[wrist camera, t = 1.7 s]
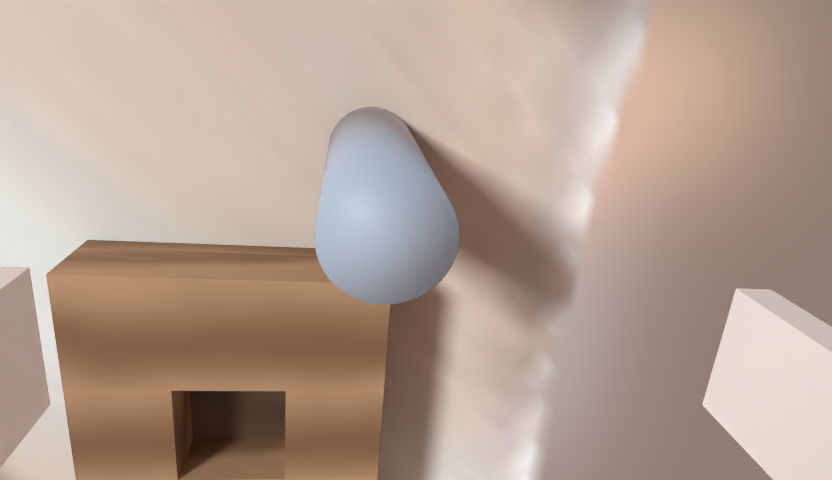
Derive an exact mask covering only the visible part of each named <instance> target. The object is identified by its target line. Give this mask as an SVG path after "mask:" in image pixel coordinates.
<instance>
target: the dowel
mask: <svg viewBox="0 0 832 480" xmlns="http://www.w3.org/2000/svg"><path fill="white" fill-rule="evenodd" d="M459 235H460V233H459V224H458V219H457V215H456V213H455V210H454V208H453V206H452V204H451V202H450V200H449V199H448V197H447V195H446V193H445V192H444V190H443V188H442V186H441V185H440V183H439V181H438V179H437V178H436V176H435V174H434V172H433V171H432V169H431V167H430V165H429V164H428V162H427V160H426V158H425V157H424V155H423V153H422V151H421V150H420V148H419V146H418V144H417V143H416V141H415V139H414V137H413V136H412V134H411V132H410V130H409V129H408V127H407V126H406V124H405V123H404V122H403V121H402V120H401V119H400V118H399V117H398V116H397V115H395V114H393V113H392V112H390V111H387V110H385V109H381V108H375V107H367V108H361V109H357V110H355V111H353V112H351V113H349V114H347V115H346V116H345V117H343V118H342V119H341V120H340V121H339V122H338V124H337V125H336V126H335V128H334V130H333V132H332V134H331V137H330V141H329V147H328V153H327V159H326V165H325V171H324V177H323V183H322V189H321V195H320V201H319V207H318V213H317V219H316V226H315V235H314V240H315V249H316V254H317V257H318V260H319V263H320V265H321V267H322V269H323V271H324V272H325V274H326V275H327V277H328V278H329V279H330V280H331V281H332V282H333V284H334V285H335V286H337V287H338V288H339V289H340V290H341V291H343V292H345V293H346V294H348V295H349V296H351V297H353V298H356V299H358V300H361V301H364V302H368V303H373V304H382V305H386V304H398V303H403V302H407V301H410V300H413V299H415V298H418V297H420V296H422V295H423V294H425V293H427V292H428V291H430V290H431V289H432V288H434V287H435V286H436V285H437V284H438V283H439V282H440V281H441V280H442V279H443V278H444V277H445V275H446V274H447V273H448V271H449V269H450V268H451V266H452V264H453V262H454V260H455V257H456V254H457V251H458V246H459Z"/></svg>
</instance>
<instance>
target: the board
mask: <svg viewBox="0 0 832 480" xmlns="http://www.w3.org/2000/svg"><path fill="white" fill-rule="evenodd" d="M46 276H47V283H48V290H49V297H50V304H51V311H52V317H53V324H54V331H55V338H56V345H57V352H58V359H59V366H60V373H61V379H62V386H63V393H64V400H65V407H66V414H67V421H68V428H69V435H70V441H71V448H72V455H73V462H74V469H75V476H76V480H377V478H378V465H379V451H380V438H381V424H382V411H383V397H384V384H385V370H386V357H387V344H388V330H389V317H390V304H386V305H382V304H373V303H368V302H364V301H361V300H358V299H356V298H353V297H351V296H349V295H348V294H346V293H345V292H343V291H341V290H340V289H339V288H338V287H337V286H335V285H334V284H333V282H332V281H331V280H330V279H329V278H328V277H327V275H326V274H325V272H324V271H323V269H322V267H321V265H320V263H319V260H318V257H317V254H316V249H315V248H290V247H263V246H236V245H209V244H182V243H154V242H127V241H100V240H87V241H86V242H85V243H83V244H82V245H81V246H80V247H79V248H77V249H76V250H75V251H74V252H73V253H71V254H70V255H69V256H68V257H67V258H65V259H64V260H63V261H62V262H60V263H59V264H58V265H57V266H56V267H54V268H53V269H52V270H51V271H50V272H48V273H47V274H46Z"/></svg>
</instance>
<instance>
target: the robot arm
mask: <svg viewBox="0 0 832 480" xmlns="http://www.w3.org/2000/svg"><path fill="white" fill-rule="evenodd" d="M49 405H50V400H49V393H48V387H47V380H46V374H45V367H44V361H43V354H42V348H41V341H40V335H39V328H38V322H37V315H36V309H35V302H34V296H33V289H32V282H31V276H30V269H29V268H24V267H0V467H1V466H2V465H3V464H4V462H5V461H6V460H7V458H8V457H9V456H10V455H11V453H12V452H13V451H14V450H15V448H16V447H17V446H18V445H19V443H20V442H21V441H22V439H23V438H24V437H25V436H26V434H27V433H28V432H29V431H30V429H31V428H32V427H33V426H34V424H35V423H36V422H37V420H38V419H39V418H40V417H41V415H42V414H43V413H44V412H45V410H46V409H47V408H48V407H49ZM703 406H704V407H705V408H706V409H707V410H708V411H709V412H710V413H711V415H712V416H713V417H714V418H715V419H716V420H717V421H718V422H719V423H720V424H721V425H722V426H723V427H724V428H725V429H726V430H727V431H728V433H729V434H730V435H731V436H732V437H733V438H734V439H735V440H736V441H737V442H738V443H739V444H740V445H741V446H742V447H743V448H744V449H745V451H746V452H747V453H748V454H749V455H750V456H751V457H752V458H753V459H754V460H755V461H756V462H757V463H758V464H759V465H760V466H761V467H762V469H764V471H765V472H766V473H767V474H768V475H769V476H770V477H771V478H772V479H773V480H832V327H831V326H829V325H828V324H826V323H824V322H823V321H821V320H819V319H818V318H816V317H815V316H813V315H811V314H810V313H808V312H806V311H805V310H803V309H802V308H800V307H798V306H797V305H795V304H793V303H792V302H790V301H789V300H787V299H785V298H783V297H782V296H780V295H779V294H777V293H776V292H774V291H772V290H766V289H736V291H735V294H734V298H733V302H732V305H731V308H730V312H729V315H728V319H727V322H726V326H725V329H724V333H723V336H722V339H721V343H720V346H719V350H718V353H717V356H716V360H715V363H714V367H713V370H712V374H711V377H710V381H709V384H708V387H707V391H706V395H705V398H704V401H703Z"/></svg>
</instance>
